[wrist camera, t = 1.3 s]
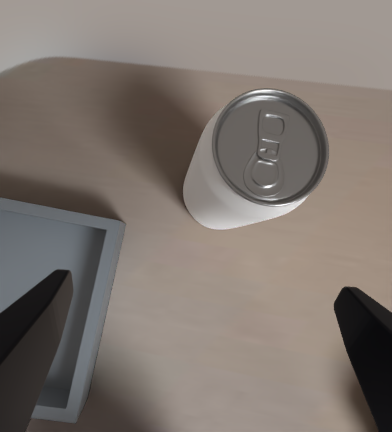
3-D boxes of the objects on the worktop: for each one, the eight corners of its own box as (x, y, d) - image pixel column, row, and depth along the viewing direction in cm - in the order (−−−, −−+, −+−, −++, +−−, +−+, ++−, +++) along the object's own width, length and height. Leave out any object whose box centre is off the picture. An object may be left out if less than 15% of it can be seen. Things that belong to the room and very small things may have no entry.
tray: (87, 398, 22) (75, 423, 19) (-105, 372, 21) (-152, 395, 18) (125, 224, 24) (120, 221, 21) (-50, 190, 23) (-84, 180, 19)
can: (175, 222, 24) (190, 199, 13) (189, 149, 25) (216, 64, 13) (249, 237, 25) (328, 228, 13) (260, 165, 26) (345, 97, 14)
